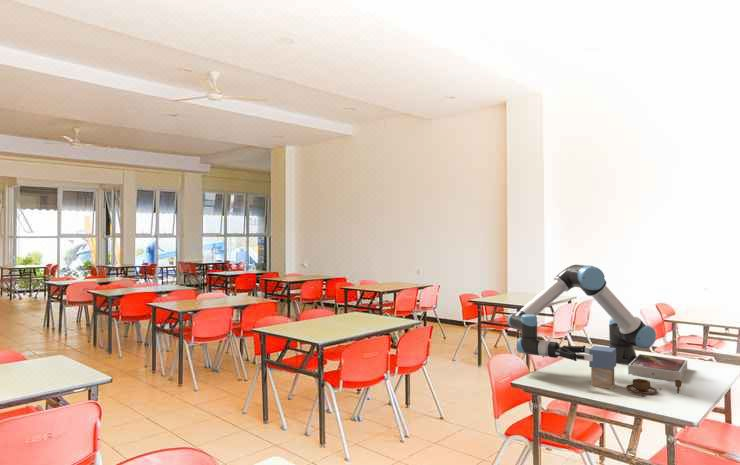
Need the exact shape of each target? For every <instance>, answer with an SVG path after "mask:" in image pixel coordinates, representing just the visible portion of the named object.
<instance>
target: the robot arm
mask: <svg viewBox="0 0 740 465" xmlns="http://www.w3.org/2000/svg"><path fill="white" fill-rule="evenodd" d="M574 288H580V290H582V291H583V292H584V293H585V294H586V296H588V297H592V298H593V299H594V300H595V301H596V302H597V303H598V304H599V306H600V307H601V308H602V309H603V311H605V312H606V313H607V315H608V316H610V318H609V323H608V329H609V330H608V331H609V334H608V335H609V336H608V337H609V340H608V341H609V345H608V346H609V347H611V348H616V364H625V365H626V364H628V365H629V364H630V363H631V362H632V361H633V360H634V359H635V358H636V357H637V356H638V355H637V354H636V351H635V348H634V347H636V348H637V347H638V348H639V349H649V348H651V347H652V346H653V345H654V344H655V342H656V338H657V332H656V330H655V329H654V328H653V327H652V326H651V325H646V323H644V321H643V320H642V319H641V318H639V316H634V315H633V314H632V313H631V312H630V311H629V310H628V308H626V306H625V305H624V304H623V302H621V301H620V300H619V299H618V297H617V296H616V295H615V294H614V293H613V292H612V291H611V290H610V289H609V287H608V286H607V280H606V279H605V273H604V272H603V270H601V268H599V267H596V266H594V265H584V264H572V265H569V266H567V267H565V269H563V270H562V271H560V272H559V273H558V274H557V275H556V276H554V277H553V280H552V282H550V284H549V285H547V286H546V287H545V288H543V290H542V291H540V292H539V293H538V294H537V295H536V296H534V297H533V298H532V299H530V300H529V302H528V303H526V304H525V305H524V306H523V307H522V308H521V309H520V310H518V311H517V312H516V313H511V314H509V315H508V317H507V319H506V322H507V324H508V326H509V327H511V328H512V329H514V330H517V331H519V332H521V336H520V337H518V338H517V339H516V345H515V348H516V351H517V352H518V353H521V354H525V355H531V356H541V357H542V358H545V357H546V358H547V357H549V358H551V359H552V358H554V359H557V358H558V357H560V358H564V359H568V360H571V361H574V362H577V360H580V361H585V362H586V361H587V362H589V361H593V355H589V349H590V348H591V347H586V345H583V346H581V345H579V346H578V345H575V346H574V345H563V346H560V344H559V342H557V341H549V340H542V339H538V317H537V316H538V315H539V314H540V313H541V312H543V310H545V309H546V308H547V307H548V306H549V305H550V304H551V303H553V302H554V301H555V300H556V299H557V298H559V297H560V296H561V295H562V294H564V292H567V293H568V292H569V291H570V290H571V289H574Z"/></svg>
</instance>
